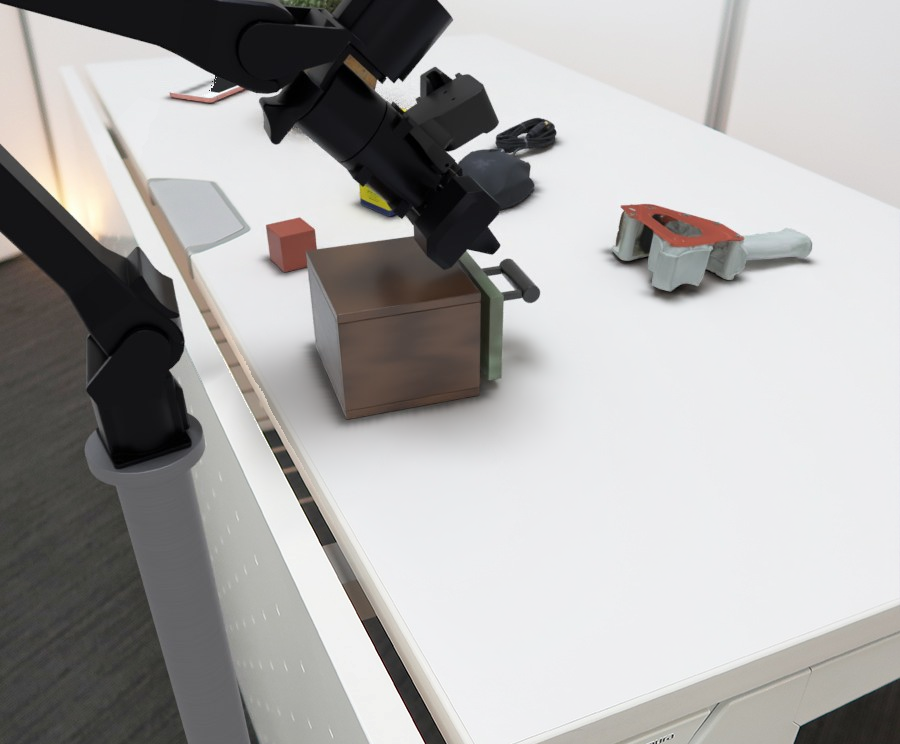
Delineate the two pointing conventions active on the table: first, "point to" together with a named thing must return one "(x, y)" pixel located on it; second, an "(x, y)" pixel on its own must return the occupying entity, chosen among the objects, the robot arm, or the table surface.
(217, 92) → the cell phone
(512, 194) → the computer mouse
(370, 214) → the table surface
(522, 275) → the drawer
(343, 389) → the cabinet
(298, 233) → the block
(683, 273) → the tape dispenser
